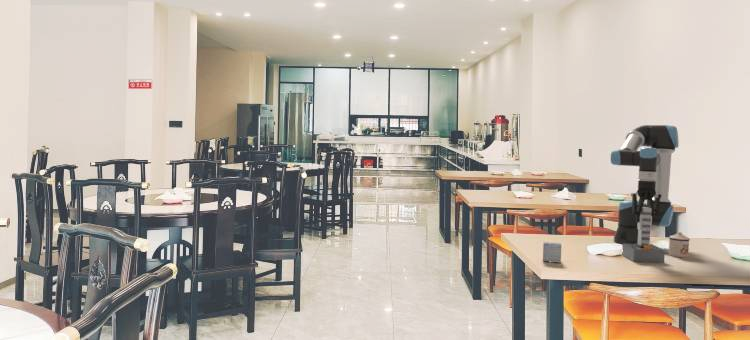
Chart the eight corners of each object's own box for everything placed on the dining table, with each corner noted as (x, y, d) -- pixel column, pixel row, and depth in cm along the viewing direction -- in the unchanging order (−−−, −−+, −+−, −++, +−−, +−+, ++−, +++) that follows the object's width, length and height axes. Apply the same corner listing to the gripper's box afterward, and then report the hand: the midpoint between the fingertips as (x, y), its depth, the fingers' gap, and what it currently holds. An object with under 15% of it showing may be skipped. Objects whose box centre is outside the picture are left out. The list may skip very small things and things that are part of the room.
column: (637, 248, 282) (639, 206, 280) (645, 248, 282) (648, 207, 280) (641, 250, 277) (643, 208, 276) (649, 250, 277) (652, 208, 275)
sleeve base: (622, 255, 287) (622, 240, 287) (651, 256, 287) (652, 240, 286) (633, 261, 273) (634, 245, 273) (664, 262, 273) (665, 246, 272)
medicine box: (560, 261, 271) (561, 242, 270) (560, 263, 266) (561, 244, 266) (543, 259, 273) (543, 241, 272) (542, 261, 269) (543, 243, 268)
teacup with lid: (683, 258, 284) (684, 234, 283) (664, 254, 291) (665, 231, 290) (694, 255, 291) (696, 232, 290) (676, 252, 298) (677, 229, 298)
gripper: (631, 180, 274) (629, 230, 276) (669, 181, 273) (666, 231, 275) (625, 179, 281) (623, 227, 283) (661, 180, 281) (659, 228, 282)
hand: (644, 229), depth 279 cm, fingers closed on column, 4 cm apart
